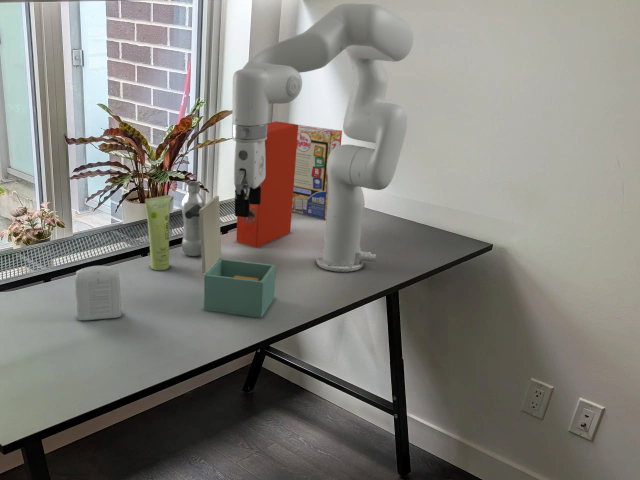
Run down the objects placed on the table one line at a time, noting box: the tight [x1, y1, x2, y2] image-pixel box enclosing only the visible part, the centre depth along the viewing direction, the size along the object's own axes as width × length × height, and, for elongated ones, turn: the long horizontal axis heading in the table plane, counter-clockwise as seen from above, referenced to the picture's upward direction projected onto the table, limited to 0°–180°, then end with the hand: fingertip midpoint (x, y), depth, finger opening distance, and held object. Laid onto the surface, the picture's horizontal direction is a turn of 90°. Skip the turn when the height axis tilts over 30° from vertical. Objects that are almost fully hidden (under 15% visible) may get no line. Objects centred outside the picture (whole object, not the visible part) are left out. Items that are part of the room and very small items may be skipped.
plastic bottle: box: [180, 182, 206, 257], centre depth 202 cm, size 6×7×20 cm
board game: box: [292, 124, 343, 220], centre depth 236 cm, size 20×6×27 cm, turn 46°
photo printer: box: [74, 265, 122, 321], centre depth 167 cm, size 10×4×12 cm, turn 103°
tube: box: [144, 194, 171, 271], centre depth 193 cm, size 6×5×20 cm
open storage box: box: [203, 258, 277, 319], centre depth 174 cm, size 14×12×9 cm
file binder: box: [235, 120, 299, 248], centre depth 212 cm, size 8×17×32 cm, turn 140°
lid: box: [185, 195, 222, 274], centre depth 171 cm, size 15×12×5 cm
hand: (247, 209), depth 165 cm, fingers open, 9 cm apart
